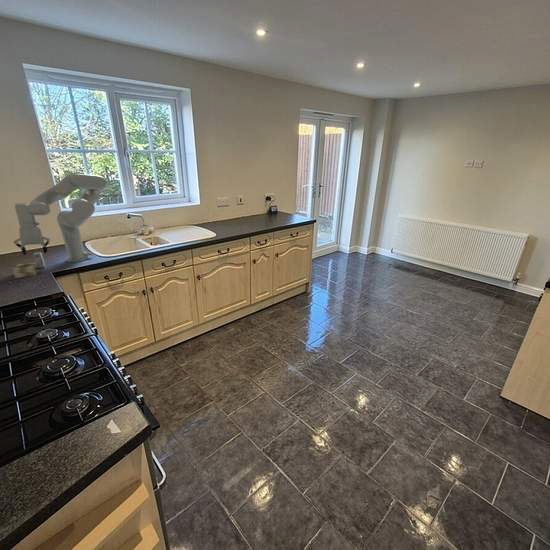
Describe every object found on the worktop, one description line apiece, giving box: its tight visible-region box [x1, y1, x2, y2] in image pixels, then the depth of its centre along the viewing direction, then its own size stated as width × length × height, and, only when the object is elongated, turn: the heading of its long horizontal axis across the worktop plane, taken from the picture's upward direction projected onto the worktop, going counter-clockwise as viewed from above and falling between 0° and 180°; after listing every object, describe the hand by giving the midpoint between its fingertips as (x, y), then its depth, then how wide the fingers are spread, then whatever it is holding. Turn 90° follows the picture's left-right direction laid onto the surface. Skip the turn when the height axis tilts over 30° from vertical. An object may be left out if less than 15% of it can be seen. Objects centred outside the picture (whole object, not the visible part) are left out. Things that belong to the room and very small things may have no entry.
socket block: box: [12, 261, 46, 279], centre depth 171 cm, size 13×9×5 cm
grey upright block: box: [32, 251, 46, 267], centre depth 180 cm, size 3×6×9 cm, turn 27°
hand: (35, 253), depth 178 cm, fingers open, 9 cm apart
